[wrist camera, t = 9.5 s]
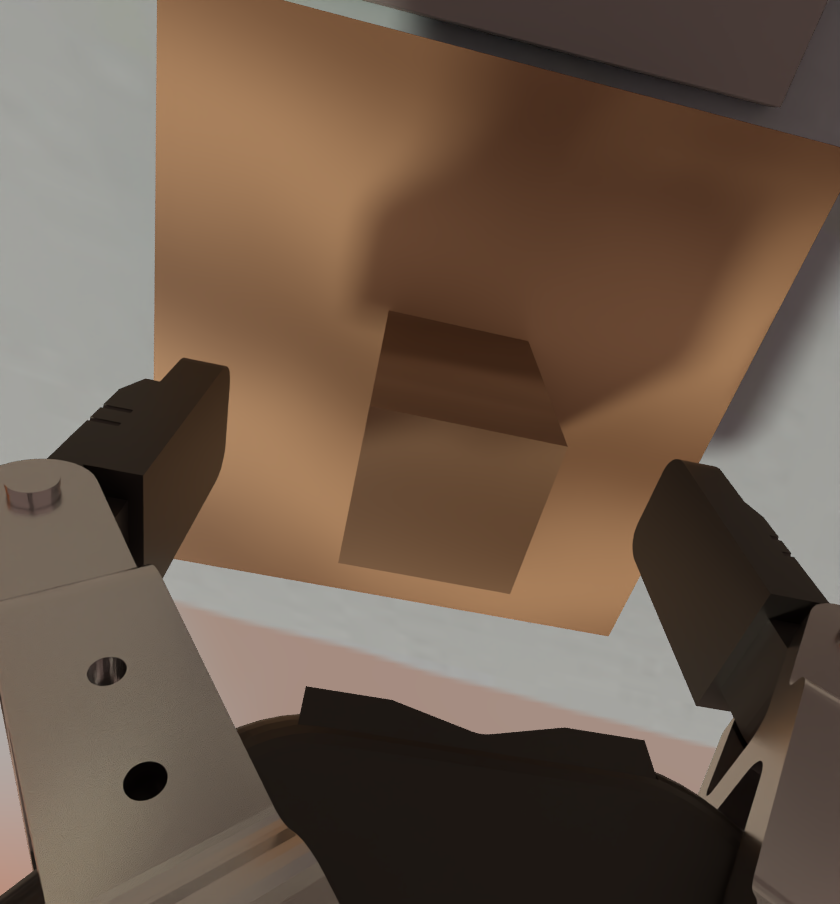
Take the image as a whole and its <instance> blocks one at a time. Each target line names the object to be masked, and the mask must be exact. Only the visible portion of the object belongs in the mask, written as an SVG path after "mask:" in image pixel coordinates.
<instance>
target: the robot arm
mask: <svg viewBox="0 0 840 904" xmlns="http://www.w3.org/2000/svg"><path fill="white" fill-rule="evenodd" d="M229 390H230V371H229V368H228V367H227V366H223V365H218V364H213V363H208V362H203V361H198V360H194V359H189V358H182V359H180V360H179V362H178V363H177V364H176V365H175V366H174V367H173V368H172V369H171V370H170V371H169V372H168V373H167V374H166V376H165V377H164V378H163V379H162V380H161V381H155V380H150V379H143V380H141V381H138V382H136V383H133V384H131V385H128V386H126V387H123V388H121V389H119V390H118V391H117V392H116V393H115V394H114V395H113V396H112V397H111V398H110V399H109V400H108V401H107V402H105V403H104V406H103V408H101V407H100V408H99V409H98V410H97V411H96V412H95V413H94V414H93V415H92V416H91V417H90V421H88V420H87V421H86V422H85V423H84V424H83V425H82V426H81V427H79V428H78V429H77V430H76V431H75V432H74V433H73V434H72V435H71V436H70V437H69V438H68V439H67V440H66V441H65V442H64V443H63V444H62V445H61V446H60V447H59V448H58V449H57V450H56V451H55V452H54V453H52V454H51V455H50V456H49V457H48V458H47V459H29V460H21V461H15V462H10V463H7V464H3V465H0V704H1V709H2V714H3V719H4V724H5V729H6V734H7V739H8V744H9V750H10V754H11V760H12V765H13V769H14V775H15V780H16V785H17V791H18V796H19V800H20V806H21V811H22V817H23V822H24V828H25V833H26V838H27V843H28V849H29V854H30V859H31V864H32V869H33V872H31V873H30V874H29V875H27V876H26V877H25V878H23V879H22V880H21V881H19V882H18V883H17V884H16V885H14V886H13V887H12V888H10V889H9V890H8V891H6V892H5V893H4V894H2V895H1V896H0V904H840V605H837V604H830V603H829V602H828V601H827V600H826V598H825V597H824V596H823V594H822V593H821V592H820V590H819V589H818V588H817V586H816V585H815V584H814V583H813V581H812V580H811V579H810V577H809V576H808V575H807V573H806V572H805V571H804V570H803V568H802V567H801V566H800V564H799V563H798V562H797V560H796V559H795V558H794V557H790V555H791V553H790V551H789V550H788V549H787V547H786V546H785V545H784V543H783V542H782V541H780V540H778V536H777V534H776V533H775V532H774V530H773V529H772V528H771V526H770V525H769V524H768V523H767V521H766V520H765V519H764V517H762V516H761V515H760V514H759V513H758V512H756V511H755V510H754V509H753V508H751V507H750V506H749V505H748V504H746V503H745V502H744V501H743V499H742V498H741V497H740V495H739V494H738V493H737V491H736V490H735V489H734V487H733V486H732V485H731V483H730V482H729V481H728V479H727V478H726V477H725V475H724V474H723V473H722V471H721V470H720V469H719V468H717V467H714V466H709V465H705V464H700V463H695V462H690V461H685V460H680V459H674V460H672V461H671V462H669V463H668V465H667V466H666V467H665V469H664V471H663V472H662V475H661V477H660V479H659V481H658V483H657V485H656V487H655V489H654V491H653V493H652V495H651V497H650V499H649V501H648V503H647V505H646V507H645V510H644V512H643V514H642V516H641V518H640V520H639V522H638V524H637V526H636V529H635V532H634V536H633V544H632V550H633V557H634V560H635V563H636V565H637V567H638V570H639V572H640V574H641V577H642V579H643V582H644V584H645V586H646V589H647V591H648V593H649V596H650V598H651V600H652V603H653V605H654V607H655V610H656V612H657V615H658V617H659V619H660V622H661V624H662V626H663V629H664V631H665V633H666V636H667V638H668V640H669V643H670V645H671V648H672V650H673V652H674V655H675V657H676V659H677V662H678V664H679V666H680V669H681V671H682V673H683V676H684V678H685V680H686V683H687V685H688V688H689V690H690V692H691V695H692V697H693V699H694V702H695V704H696V706H701V707H707V708H713V709H719V710H725V711H731V713H732V715H733V719H732V720H731V722H730V723H729V724H728V726H727V727H726V729H725V730H724V732H723V733H722V735H721V738H720V740H719V743H718V745H717V748H716V750H715V753H714V756H713V758H712V760H711V763H710V765H709V768H708V770H707V773H706V775H705V778H704V780H703V783H702V786H701V788H700V791H699V793H698V795H697V794H695V793H694V792H692V791H690V790H689V789H687V788H686V787H684V786H682V785H681V784H679V783H677V782H675V781H673V780H671V779H669V778H667V777H665V776H663V775H661V774H658V773H656V772H654V768H653V765H652V762H651V759H650V756H649V753H648V750H647V747H646V744H645V741H644V740H638V739H632V738H626V737H620V736H614V735H607V734H601V733H595V732H589V731H582V730H576V729H570V728H555V729H544V730H533V731H522V732H511V733H501V734H489V735H488V734H487V735H485V734H478V733H475V732H471V731H469V730H466V729H464V728H461V727H458V726H456V725H454V724H451V723H449V722H446V721H444V720H441V719H438V718H436V717H433V716H430V715H428V714H426V713H423V712H421V711H418V710H416V709H413V708H411V707H408V706H406V705H403V704H401V703H398V702H395V701H393V700H388V699H382V698H376V697H369V696H363V695H357V694H351V693H344V692H338V691H332V690H326V689H319V688H312V687H307V686H306V689H305V694H304V698H303V703H302V708H301V712H300V714H297V715H286V716H279V717H274V718H268V719H263V720H259V721H256V722H253V723H250V724H247V725H244V726H241V727H238V728H235V726H234V724H233V722H232V720H231V718H230V716H229V714H228V712H227V710H226V708H225V706H224V704H223V702H222V700H221V698H220V696H219V693H218V691H217V689H216V687H215V685H214V683H213V681H212V679H211V677H210V675H209V673H208V671H207V669H206V667H205V665H204V663H203V661H202V659H201V657H200V655H199V653H198V650H197V648H196V646H195V644H194V642H193V640H192V638H191V636H190V634H189V632H188V630H187V628H186V626H185V624H184V622H183V620H182V618H181V616H180V614H179V612H178V610H177V607H176V605H175V603H174V601H173V599H172V597H171V595H170V593H169V591H168V589H167V587H166V585H165V583H164V581H163V577H164V575H165V573H166V571H167V569H168V568H169V566H170V564H171V562H172V560H173V559H174V557H175V555H176V553H177V551H178V549H179V548H180V546H181V544H182V542H183V540H184V539H185V537H186V535H187V533H188V531H189V530H190V528H191V526H192V524H193V522H194V520H195V519H196V517H197V515H198V513H199V511H200V510H201V508H202V506H203V504H204V502H205V501H206V499H207V497H208V495H209V493H210V491H211V490H212V488H213V486H214V484H215V482H216V480H217V478H218V476H219V473H220V470H221V467H222V463H223V459H224V453H225V446H226V432H227V418H228V404H229Z"/></svg>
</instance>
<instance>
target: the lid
mask: <svg viewBox="0 0 840 904" xmlns="http://www.w3.org/2000/svg"><path fill="white" fill-rule="evenodd" d="M839 193H840V147H838V146H834V145H830V144H826V143H822V142H819V141H815V140H811V139H807V138H803V137H800V136H796V135H792V134H788V133H784V132H781V131H777V130H773V129H769V128H766V127H762V126H758V125H754V124H750V123H747V122H743V121H739V120H735V119H731V118H728V117H724V116H720V115H716V114H712V113H709V112H705V111H701V110H697V109H693V108H690V107H686V106H682V105H678V104H674V103H671V102H667V101H663V100H659V99H656V98H652V97H648V96H644V95H640V94H637V93H633V92H629V91H625V90H621V89H618V88H614V87H610V86H606V85H602V84H599V83H595V82H591V81H587V80H583V79H580V78H576V77H572V76H568V75H564V74H561V73H557V72H553V71H549V70H545V69H542V68H538V67H534V66H530V65H527V64H523V63H519V62H515V61H511V60H508V59H504V58H500V57H496V56H492V55H489V54H485V53H481V52H477V51H473V50H470V49H466V48H462V47H458V46H454V45H451V44H447V43H443V42H439V41H435V40H432V39H428V38H424V37H420V36H417V35H413V34H409V33H405V32H401V31H398V30H394V29H390V28H386V27H382V26H379V25H375V24H371V23H367V22H363V21H360V20H356V19H352V18H348V17H344V16H341V15H337V14H333V13H329V12H325V11H322V10H318V9H314V8H310V7H307V6H303V5H299V4H295V3H291V2H288V1H284V0H157V84H156V199H155V314H154V380H155V381H161V380H162V379H163V378H164V377H165V376H166V374H167V373H168V372H169V371H170V370H171V369H172V368H173V367H174V366H175V365H176V364H177V363H178V362H179V360H180V359H182V358H189V359H194V360H198V361H203V362H208V363H213V364H218V365H223V366H227V367H228V368H229V371H230V390H229V404H228V418H227V432H226V446H225V453H224V459H223V463H222V467H221V470H220V473H219V476H218V478H217V480H216V482H215V484H214V486H213V488H212V490H211V491H210V493H209V495H208V497H207V499H206V501H205V502H204V504H203V506H202V508H201V510H200V511H199V513H198V515H197V517H196V519H195V520H194V522H193V524H192V526H191V528H190V530H189V531H188V533H187V535H186V537H185V539H184V540H183V542H182V544H181V546H180V548H179V549H178V551H177V553H176V555H175V557H174V559H178V560H183V561H189V562H195V563H200V564H206V565H212V566H217V567H223V568H228V569H234V570H240V571H245V572H251V573H256V574H262V575H268V576H273V577H279V578H284V579H290V580H296V581H301V582H307V583H313V584H318V585H324V586H329V587H335V588H341V589H346V590H352V591H357V592H363V593H369V594H374V595H380V596H386V597H391V598H397V599H402V600H408V601H414V602H419V603H425V604H430V605H436V606H442V607H447V608H453V609H458V610H464V611H470V612H475V613H481V614H487V615H492V616H498V617H503V618H509V619H515V620H520V621H526V622H531V623H537V624H543V625H548V626H554V627H560V628H565V629H571V630H576V631H582V632H588V633H593V634H599V635H604V636H609V634H610V632H611V630H612V629H613V627H614V625H615V623H616V621H617V619H618V617H619V615H620V613H621V611H622V609H623V607H624V605H625V604H626V602H627V600H628V598H629V596H630V594H631V592H632V590H633V588H634V586H635V584H636V582H637V581H638V579H639V577H640V575H641V574H640V572H639V570H638V567H637V565H636V563H635V560H634V557H633V550H632V544H633V536H634V532H635V529H636V526H637V524H638V522H639V520H640V518H641V516H642V514H643V512H644V510H645V507H646V505H647V503H648V501H649V499H650V497H651V495H652V493H653V491H654V489H655V487H656V485H657V483H658V481H659V479H660V477H661V475H662V472H663V471H664V469H665V467H666V466H667V465H668V463H669V462H671V461H672V460H674V459H680V460H685V461H690V462H695V463H699V461H700V460H701V458H702V456H703V454H704V452H705V450H706V448H707V446H708V444H709V442H710V440H711V438H712V437H713V435H714V433H715V431H716V429H717V427H718V425H719V423H720V421H721V419H722V417H723V415H724V413H725V412H726V410H727V408H728V406H729V404H730V402H731V400H732V398H733V396H734V394H735V392H736V390H737V389H738V387H739V385H740V383H741V381H742V379H743V377H744V375H745V373H746V371H747V369H748V367H749V365H750V364H751V362H752V360H753V358H754V356H755V354H756V352H757V350H758V348H759V346H760V344H761V342H762V341H763V339H764V337H765V335H766V333H767V331H768V329H769V327H770V325H771V323H772V321H773V319H774V317H775V316H776V314H777V312H778V310H779V308H780V306H781V304H782V302H783V300H784V298H785V296H786V294H787V293H788V291H789V289H790V287H791V285H792V283H793V281H794V279H795V277H796V275H797V273H798V271H799V269H800V268H801V266H802V264H803V262H804V260H805V258H806V256H807V254H808V252H809V250H810V248H811V246H812V245H813V243H814V241H815V239H816V237H817V235H818V233H819V231H820V229H821V227H822V225H823V223H824V222H825V220H826V218H827V216H828V214H829V212H830V210H831V208H832V206H833V204H834V202H835V200H836V198H837V197H838V195H839Z"/></svg>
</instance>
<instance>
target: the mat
mask: <svg viewBox="0 0 840 904" xmlns="http://www.w3.org/2000/svg"><path fill="white" fill-rule="evenodd" d="M363 1H367V2H371V3H375V4H379V5H383V6H386V7H390V8H394V9H398V10H402V11H406V12H409V13H413V14H417V15H421V16H425V17H429V18H432V19H436V20H440V21H444V22H448V23H452V24H455V25H459V26H463V27H467V28H471V29H474V30H478V31H482V32H486V33H490V34H494V35H497V36H501V37H505V38H509V39H513V40H517V41H520V42H524V43H528V44H532V45H536V46H540V47H543V48H547V49H551V50H555V51H559V52H563V53H566V54H570V55H574V56H578V57H582V58H585V59H589V60H593V61H597V62H601V63H605V64H608V65H612V66H616V67H620V68H624V69H628V70H631V71H635V72H639V73H643V74H647V75H651V76H654V77H658V78H662V79H666V80H670V81H674V82H677V83H681V84H685V85H689V86H693V87H697V88H700V89H704V90H708V91H712V92H716V93H719V94H723V95H727V96H731V97H735V98H739V99H742V100H746V101H750V102H754V103H758V104H762V105H765V106H769V107H781V105H782V103H783V100H784V98H785V96H786V94H787V91H788V89H789V87H790V85H791V82H792V80H793V78H794V76H795V73H796V71H797V69H798V67H799V64H800V62H801V60H802V58H803V55H804V53H805V51H806V49H807V46H808V44H809V42H810V40H811V37H812V35H813V33H814V31H815V28H816V26H817V24H818V22H819V19H820V17H821V15H822V13H823V10H824V8H825V6H826V4H827V1H828V0H363Z"/></svg>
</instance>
